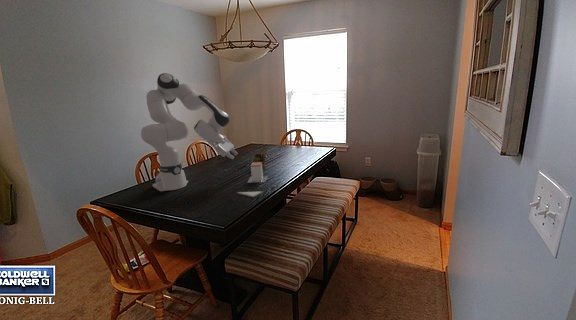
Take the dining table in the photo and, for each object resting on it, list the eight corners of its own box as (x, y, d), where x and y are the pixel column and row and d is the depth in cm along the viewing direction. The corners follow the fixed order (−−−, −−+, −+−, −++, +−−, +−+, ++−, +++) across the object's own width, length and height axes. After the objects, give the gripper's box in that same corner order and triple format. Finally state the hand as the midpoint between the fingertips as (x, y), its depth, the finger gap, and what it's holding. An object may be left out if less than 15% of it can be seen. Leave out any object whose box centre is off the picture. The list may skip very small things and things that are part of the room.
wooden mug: (261, 174, 188) (259, 147, 183) (251, 170, 198) (248, 145, 193) (272, 171, 193) (270, 145, 189) (261, 167, 203) (259, 143, 199)
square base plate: (247, 184, 169) (246, 174, 167) (250, 178, 180) (249, 169, 178) (265, 183, 168) (264, 173, 167) (267, 178, 179) (267, 168, 177)
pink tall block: (252, 181, 171) (250, 165, 168) (253, 178, 177) (252, 162, 174) (261, 180, 171) (260, 164, 168) (263, 177, 176) (261, 162, 174)
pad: (237, 193, 155) (237, 191, 155) (252, 186, 165) (252, 185, 164) (253, 197, 148) (253, 195, 148) (268, 190, 158) (267, 188, 157)
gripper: (215, 140, 158) (234, 156, 160) (225, 134, 178) (241, 149, 180) (209, 148, 160) (228, 164, 162) (219, 142, 179) (235, 156, 181)
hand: (235, 156), depth 171 cm, fingers open, 8 cm apart
